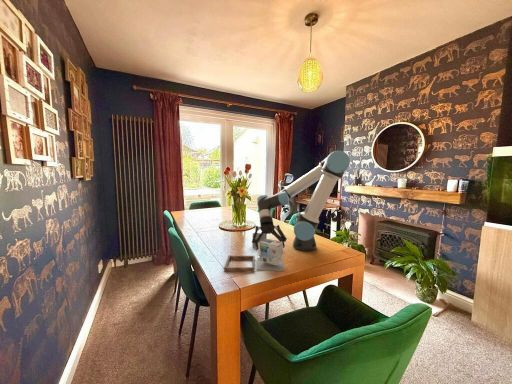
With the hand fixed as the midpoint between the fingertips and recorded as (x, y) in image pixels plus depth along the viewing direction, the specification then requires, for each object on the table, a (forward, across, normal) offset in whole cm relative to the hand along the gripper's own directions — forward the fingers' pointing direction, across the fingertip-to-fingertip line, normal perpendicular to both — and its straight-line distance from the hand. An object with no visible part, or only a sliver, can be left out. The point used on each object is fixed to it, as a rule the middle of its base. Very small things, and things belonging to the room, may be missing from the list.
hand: (271, 254), depth 112 cm
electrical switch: (-16, +1, -26) cm, 30 cm away
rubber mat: (+3, 0, -7) cm, 7 cm away
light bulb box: (+2, 0, -4) cm, 5 cm away
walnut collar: (+2, +16, -8) cm, 18 cm away
